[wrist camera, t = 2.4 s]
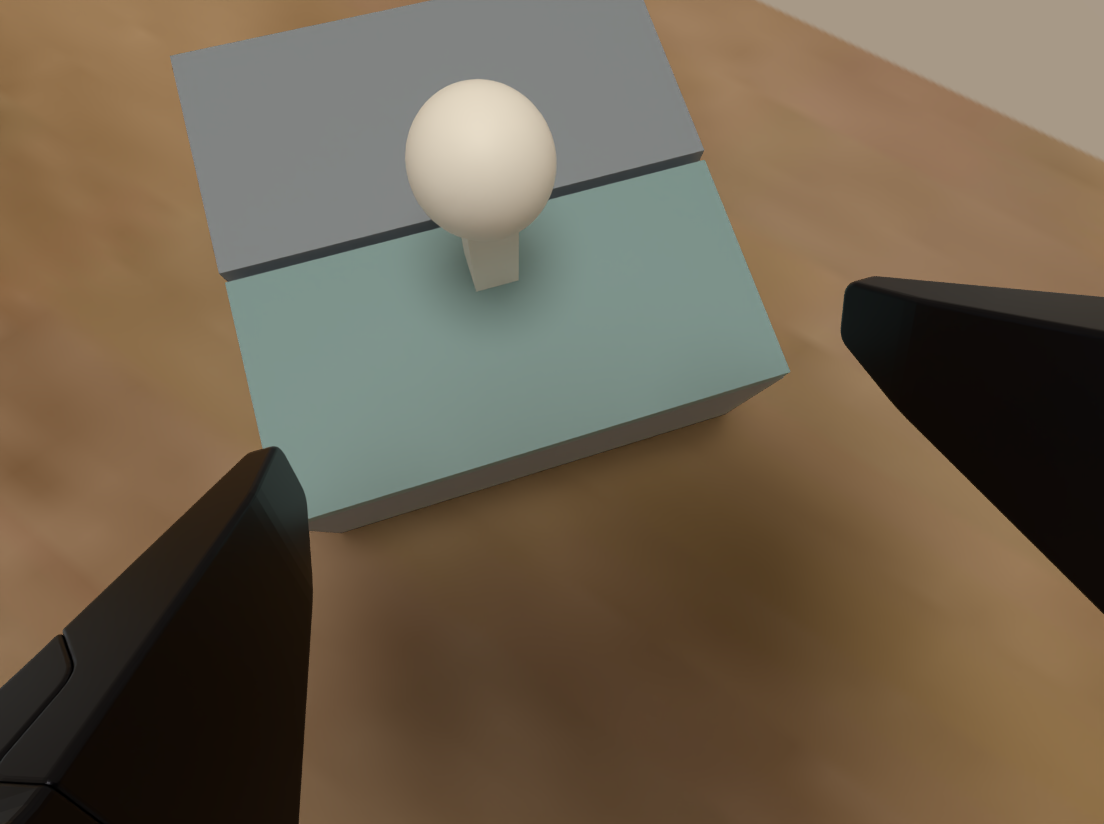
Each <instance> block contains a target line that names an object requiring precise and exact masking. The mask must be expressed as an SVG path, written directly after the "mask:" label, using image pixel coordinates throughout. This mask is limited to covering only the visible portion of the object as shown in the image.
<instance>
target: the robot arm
mask: <svg viewBox="0 0 1104 824" xmlns="http://www.w3.org/2000/svg"><path fill="white" fill-rule="evenodd" d="M841 336H842V340H843V342H844V344H845V345H846V347H847V348H848V349H849V350H850V352H851V353H852V354H853V355H854V357H855V358H856V359H857V360H858V361H859V363H860V364H861V365H862V366H863V368H864V369H865V370H866V371H867V373H868V374H869V375H870V376H871V378H872V379H873V380H874V381H875V382H876V384H877V385H878V386H879V387H880V389H881V390H882V391H883V392H884V394H885V395H886V396H887V397H888V399H889V400H890V401H891V402H892V403H893V404H894V406H895V407H896V408H897V409H898V410H899V411H900V412H901V413H902V414H903V415H904V416H905V417H906V418H907V419H908V420H909V421H910V422H911V423H912V424H913V425H914V426H915V427H916V428H917V429H918V430H919V431H920V432H921V433H922V434H923V435H924V436H925V437H926V438H927V439H928V440H929V441H930V442H931V443H932V444H933V445H934V446H935V447H936V448H937V449H938V450H939V451H940V452H941V453H942V454H943V455H944V456H945V457H946V458H947V459H948V460H949V461H950V462H951V463H952V464H953V465H954V466H955V467H956V468H957V469H958V470H959V471H960V472H961V473H962V474H963V475H964V476H965V477H966V478H967V479H968V480H969V481H970V482H971V483H972V484H973V485H974V486H975V487H976V488H977V489H978V490H979V491H980V492H981V493H982V494H983V495H984V496H985V497H986V498H987V499H988V500H989V501H990V502H991V503H992V504H993V505H994V506H995V507H996V508H997V509H998V510H999V511H1000V512H1001V513H1002V514H1003V515H1004V516H1005V517H1006V518H1007V519H1008V520H1009V521H1010V522H1011V523H1012V524H1013V525H1014V526H1015V527H1016V528H1017V529H1018V530H1019V531H1020V532H1021V533H1022V534H1023V535H1024V536H1025V537H1026V538H1027V539H1028V540H1029V541H1031V542H1032V543H1033V544H1034V545H1035V546H1036V547H1037V548H1038V549H1039V550H1040V551H1041V552H1042V553H1043V554H1044V555H1045V556H1046V557H1047V558H1048V559H1049V560H1050V561H1051V562H1052V563H1053V564H1054V565H1055V566H1056V567H1057V568H1058V569H1059V570H1060V571H1061V572H1062V573H1063V574H1064V575H1065V576H1066V577H1067V578H1068V579H1069V580H1070V581H1071V582H1072V583H1073V584H1074V585H1075V586H1076V587H1077V588H1078V589H1079V590H1080V591H1081V592H1082V593H1083V594H1084V595H1085V596H1086V597H1087V598H1088V599H1089V600H1090V601H1091V602H1092V603H1093V604H1094V605H1095V606H1096V607H1097V608H1098V609H1099V610H1100V611H1101V612H1102V613H1103V614H1104V297H1097V296H1086V295H1075V294H1064V293H1053V292H1042V291H1032V290H1021V289H1010V288H999V287H988V286H977V285H966V284H955V283H944V282H933V281H922V280H912V279H901V278H890V277H879V276H873V277H868V278H865V279H861V280H858V281H854V282H852V283H850V284H849V285H848V286H847V288H846V290H845V294H844V302H843V312H842V321H841ZM312 602H313V583H312V566H311V552H310V538H309V523H308V509H307V500H306V496H305V492H304V490H303V488H302V486H301V484H300V482H299V480H298V478H297V476H296V474H295V472H294V471H293V469H292V467H291V465H290V463H289V461H288V459H287V458H286V456H285V454H284V452H283V451H282V450H281V449H280V448H279V447H277V446H271V447H267V448H264V449H260V450H257V451H253V452H250V453H248V454H247V455H246V456H244V457H243V458H242V459H241V460H240V461H239V462H238V463H237V464H236V465H235V466H234V467H233V468H232V469H231V470H230V471H229V472H228V473H227V474H226V475H225V476H223V477H222V478H221V479H220V480H219V481H218V482H217V483H216V484H215V485H214V486H213V487H212V488H211V489H210V490H209V491H208V492H207V493H206V494H205V495H204V496H203V497H201V498H200V499H199V500H198V501H197V502H196V503H195V504H194V505H193V506H192V507H191V508H190V509H189V510H188V511H187V512H186V513H185V514H184V515H183V516H182V517H181V518H179V519H178V520H177V521H176V522H175V523H174V524H173V525H172V526H171V527H170V528H169V529H168V530H167V531H166V532H165V533H164V534H163V535H162V536H161V537H160V538H158V539H157V540H156V541H155V542H154V543H153V544H152V545H151V546H150V547H149V548H148V549H147V550H146V551H145V552H144V553H143V554H142V555H141V556H140V557H139V558H138V559H136V560H135V561H134V562H133V563H132V564H131V565H130V566H129V567H128V568H127V569H126V570H125V571H124V572H123V573H122V574H121V575H120V576H119V577H118V578H117V579H116V580H114V581H113V582H112V583H111V584H110V585H109V586H108V587H107V588H106V589H105V590H104V591H103V592H102V593H101V594H100V595H99V596H98V597H97V598H96V599H95V600H93V601H92V602H91V603H90V604H89V605H88V606H87V607H86V608H85V609H84V610H83V611H82V612H81V613H80V614H79V615H78V616H77V617H76V618H75V619H74V620H73V621H71V622H70V623H69V624H68V625H67V626H66V627H65V628H64V629H63V635H61V634H60V635H57V636H55V637H54V638H53V639H52V640H51V641H50V642H49V643H48V644H47V645H46V646H45V647H44V648H43V649H42V650H41V651H40V652H39V653H38V654H37V655H36V656H35V657H34V658H33V659H31V660H30V661H29V662H28V663H27V664H26V665H25V666H24V667H23V668H22V669H21V670H20V671H19V672H17V673H16V674H15V675H14V676H13V677H12V678H11V679H10V680H9V681H8V682H7V683H6V684H5V685H3V686H2V687H1V688H0V824H299V809H300V793H301V778H302V762H303V746H304V730H305V714H306V699H307V683H308V667H309V651H310V636H311V620H312Z"/></svg>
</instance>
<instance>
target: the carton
mask: <svg viewBox="0 0 1104 824" xmlns="http://www.w3.org/2000/svg"><path fill="white" fill-rule="evenodd" d="M170 58H171V63H172V67H173V72H174V76H175V80H176V85H177V89H178V94H179V98H180V103H181V107H182V111H183V116H184V120H185V125H186V129H187V134H188V138H189V142H190V147H191V151H192V156H193V160H194V165H195V169H196V173H197V178H198V182H199V187H200V191H201V196H202V200H203V205H204V209H205V213H206V218H207V222H208V227H209V231H210V236H211V240H212V244H213V249H214V253H215V258H216V262H217V267H218V271H219V274H220V275H221V276H222V277H223V278H224V279H226V280H227V281H228V282H230V281H234V280H238V279H242V278H245V277H249V276H253V275H257V274H261V273H265V272H269V271H273V270H277V269H281V268H284V267H288V266H292V265H296V264H300V263H304V262H308V261H312V260H316V259H320V258H323V257H327V256H331V255H335V254H339V253H343V252H347V251H351V250H355V249H359V248H362V247H366V246H370V245H374V244H378V243H382V242H386V241H390V240H394V239H398V238H402V237H405V236H409V235H413V234H417V233H421V232H425V231H429V230H433V229H437V228H441V227H440V226H439V225H437V224H436V223H435V222H434V221H433V220H432V219H431V218H430V217H429V216H428V215H427V214H426V213H425V212H424V210H423V209H422V208H421V206H420V205H419V204H418V202H417V200H416V198H415V196H414V194H413V192H412V189H411V187H410V184H409V181H408V176H407V172H406V164H405V151H406V142H407V137H408V133H409V130H410V127H411V125H412V122H413V120H414V118H415V117H416V115H417V113H418V112H419V110H420V109H421V107H422V106H423V105H424V103H425V102H426V101H427V100H428V99H429V98H430V97H432V96H433V95H434V94H435V93H437V92H438V91H439V90H441V89H443V88H444V87H446V86H448V85H451V84H453V83H456V82H460V81H464V80H471V79H485V80H492V81H496V82H499V83H503V84H505V85H507V86H510V87H511V88H513V89H515V90H517V91H518V92H520V93H521V94H522V95H524V96H525V97H526V98H528V99H529V100H530V101H531V102H532V103H533V104H534V106H535V107H536V108H537V109H538V111H539V112H540V113H541V114H542V116H543V118H544V119H545V121H546V123H547V125H548V127H549V129H550V132H551V134H552V137H553V141H554V145H555V150H556V162H557V164H556V177H555V182H554V187H553V190H552V193H551V195H550V197H549V199H548V200H550V199H554V198H558V197H561V196H565V195H569V194H573V193H577V192H581V191H585V190H589V189H593V188H597V187H600V186H604V185H608V184H612V183H616V182H620V181H624V180H628V179H632V178H636V177H640V176H643V175H647V174H651V173H655V172H659V171H663V170H667V169H671V168H675V167H679V166H682V165H686V164H690V163H694V162H698V161H699V160H700V158H701V156H702V154H703V152H704V148H703V146H702V143H701V141H700V139H699V136H698V134H697V131H696V129H695V126H694V124H693V121H692V119H691V116H690V114H689V111H688V109H687V106H686V104H685V102H684V99H683V97H682V94H681V92H680V89H679V87H678V84H677V82H676V79H675V77H674V74H673V72H672V69H671V67H670V65H669V62H668V60H667V57H666V55H665V52H664V50H663V47H662V45H661V42H660V40H659V37H658V35H657V32H656V30H655V28H654V25H653V23H652V20H651V18H650V15H649V13H648V10H647V8H646V5H645V3H644V0H431V1H427V2H422V3H417V4H412V5H408V6H403V7H398V8H394V9H389V10H384V11H379V12H375V13H370V14H365V15H361V16H356V17H351V18H346V19H342V20H337V21H332V22H328V23H323V24H318V25H313V26H309V27H304V28H299V29H295V30H290V31H285V32H280V33H276V34H271V35H266V36H262V37H257V38H252V39H247V40H243V41H238V42H233V43H229V44H224V45H219V46H214V47H210V48H205V49H200V50H196V51H191V52H186V53H181V54H177V55H172V56H170ZM782 378H783V377H782ZM782 378H779V379H775V380H772V381H769V382H766V383H762V384H759V385H756V386H753V387H749V388H746V389H743V390H739V391H736V392H733V393H730V394H726V395H723V396H720V397H717V398H713V399H710V400H707V401H703V402H700V403H697V404H694V405H690V406H687V407H684V408H681V409H677V410H674V411H671V412H667V413H664V414H661V415H658V416H654V417H651V418H648V419H645V420H641V421H638V422H635V423H631V424H628V425H625V426H622V427H618V428H615V429H612V430H609V431H605V432H602V433H599V434H595V435H592V436H589V437H586V438H582V439H579V440H576V441H572V442H569V443H566V444H563V445H559V446H556V447H553V448H550V449H546V450H543V451H540V452H536V453H533V454H530V455H527V456H523V457H520V458H517V459H514V460H510V461H507V462H504V463H500V464H497V465H494V466H491V467H487V468H484V469H481V470H478V471H474V472H471V473H468V474H464V475H461V476H458V477H455V478H451V479H448V480H445V481H442V482H438V483H435V484H432V485H428V486H425V487H422V488H419V489H415V490H412V491H409V492H406V493H402V494H399V495H396V496H392V497H389V498H386V499H383V500H379V501H376V502H373V503H369V504H366V505H363V506H360V507H356V508H353V509H350V510H347V511H343V512H340V513H337V514H333V515H330V516H327V517H324V518H320V519H317V520H314V521H311V522H308V523H309V531H319V532H333V533H342V532H346V531H349V530H352V529H355V528H359V527H362V526H365V525H368V524H371V523H375V522H378V521H381V520H384V519H388V518H391V517H394V516H397V515H401V514H404V513H407V512H410V511H414V510H417V509H420V508H423V507H426V506H430V505H433V504H436V503H439V502H443V501H446V500H449V499H452V498H456V497H459V496H462V495H465V494H468V493H472V492H475V491H478V490H481V489H485V488H488V487H491V486H494V485H498V484H501V483H504V482H507V481H510V480H514V479H517V478H520V477H523V476H527V475H530V474H533V473H536V472H540V471H543V470H546V469H549V468H553V467H556V466H559V465H562V464H565V463H569V462H572V461H575V460H578V459H582V458H585V457H588V456H591V455H595V454H598V453H601V452H604V451H607V450H611V449H614V448H617V447H620V446H624V445H627V444H630V443H633V442H637V441H640V440H643V439H646V438H650V437H653V436H656V435H659V434H662V433H666V432H669V431H672V430H675V429H679V428H682V427H685V426H688V425H692V424H695V423H698V422H701V421H704V420H708V419H711V418H714V417H717V416H721V415H724V414H726V413H728V412H729V411H731V410H732V409H734V408H736V407H737V406H739V405H740V404H742V403H744V402H745V401H747V400H748V399H750V398H751V397H753V396H755V395H756V394H758V393H759V392H761V391H763V390H764V389H766V388H767V387H769V386H771V385H772V384H774V383H775V382H777V381H778V380H780V379H782Z"/></svg>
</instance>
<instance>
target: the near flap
mask: <svg viewBox="0 0 1104 824" xmlns="http://www.w3.org/2000/svg"><path fill="white" fill-rule="evenodd" d="M405 164H406V172H407V176H408V181H409V184H410V187H411V189H412V192H413V194H414V196H415V198H416V200H417V202H418V204H419V205H420V206H421V208H422V209H423V210H424V212H425V213H426V214H427V215H428V216H429V217H430V218H431V219H432V220H433V221H434V222H435V223H436V224H437V225H439V226H440V227H441V228H437V229H433V230H429V231H425V232H421V233H417V234H413V235H409V236H405V237H402V238H398V239H394V240H390V241H386V242H382V243H378V244H374V245H370V246H366V247H362V248H359V249H355V250H351V251H347V252H343V253H339V254H335V255H331V256H327V257H323V258H320V259H316V260H312V261H308V262H304V263H300V264H296V265H292V266H288V267H284V268H281V269H277V270H273V271H269V272H265V273H261V274H257V275H253V276H249V277H245V278H242V279H238V280H234V281H230V282H226V283H225V284H226V289H227V293H228V297H229V302H230V306H231V311H232V315H233V319H234V324H235V328H236V333H237V337H238V341H239V346H240V350H241V355H242V359H243V363H244V368H245V372H246V377H247V381H248V386H249V390H250V394H251V399H252V403H253V408H254V412H255V416H256V421H257V425H258V430H259V434H260V438H261V443H262V447H263V449H264V448H267V447H271V446H277V447H279V448H280V449H281V450H282V451H283V452H284V454H285V456H286V458H287V459H288V461H289V463H290V465H291V467H292V469H293V471H294V472H295V474H296V476H297V478H298V480H299V482H300V484H301V486H302V488H303V490H304V492H305V496H306V500H307V509H308V522H311V521H314V520H317V519H320V518H324V517H327V516H330V515H333V514H337V513H340V512H343V511H347V510H350V509H353V508H356V507H360V506H363V505H366V504H369V503H373V502H376V501H379V500H383V499H386V498H389V497H392V496H396V495H399V494H402V493H406V492H409V491H412V490H415V489H419V488H422V487H425V486H428V485H432V484H435V483H438V482H442V481H445V480H448V479H451V478H455V477H458V476H461V475H464V474H468V473H471V472H474V471H478V470H481V469H484V468H487V467H491V466H494V465H497V464H500V463H504V462H507V461H510V460H514V459H517V458H520V457H523V456H527V455H530V454H533V453H536V452H540V451H543V450H546V449H550V448H553V447H556V446H559V445H563V444H566V443H569V442H572V441H576V440H579V439H582V438H586V437H589V436H592V435H595V434H599V433H602V432H605V431H609V430H612V429H615V428H618V427H622V426H625V425H628V424H631V423H635V422H638V421H641V420H645V419H648V418H651V417H654V416H658V415H661V414H664V413H667V412H671V411H674V410H677V409H681V408H684V407H687V406H690V405H694V404H697V403H700V402H703V401H707V400H710V399H713V398H717V397H720V396H723V395H726V394H730V393H733V392H736V391H739V390H743V389H746V388H749V387H753V386H756V385H759V384H762V383H766V382H769V381H772V380H775V379H779V378H782V377H783V376H785V375H786V374H788V373H789V372H790V370H789V367H788V365H787V362H786V360H785V357H784V355H783V352H782V350H781V348H780V345H779V343H778V340H777V338H776V335H775V333H774V330H773V328H772V325H771V323H770V320H769V318H768V315H767V313H766V310H765V308H764V305H763V303H762V301H761V298H760V296H759V293H758V291H757V288H756V286H755V283H754V281H753V278H752V276H751V273H750V271H749V268H748V266H747V263H746V261H745V258H744V256H743V254H742V251H741V249H740V246H739V244H738V241H737V239H736V236H735V234H734V231H733V229H732V226H731V224H730V221H729V219H728V216H727V214H726V211H725V209H724V207H723V204H722V202H721V199H720V197H719V194H718V192H717V189H716V187H715V184H714V182H713V179H712V177H711V174H710V172H709V169H708V167H707V164H706V162H705V160H702V161H698V162H694V163H690V164H686V165H682V166H679V167H675V168H671V169H667V170H663V171H659V172H655V173H651V174H647V175H643V176H640V177H636V178H632V179H628V180H624V181H620V182H616V183H612V184H608V185H604V186H600V187H597V188H593V189H589V190H585V191H581V192H577V193H573V194H569V195H565V196H561V197H558V198H554V199H550V200H548V199H549V197H550V195H551V193H552V190H553V187H554V182H555V177H556V164H557V162H556V150H555V145H554V141H553V137H552V134H551V132H550V129H549V127H548V125H547V123H546V121H545V119H544V118H543V116H542V114H541V113H540V112H539V111H538V109H537V108H536V107H535V106H534V104H533V103H532V102H531V101H530V100H529V99H528V98H526V97H525V96H524V95H522V94H521V93H520V92H518V91H517V90H515V89H513V88H511V87H510V86H507V85H505V84H503V83H499V82H496V81H492V80H485V79H471V80H464V81H460V82H456V83H453V84H451V85H448V86H446V87H444V88H443V89H441V90H439V91H438V92H437V93H435V94H434V95H433V96H432V97H430V98H429V99H428V100H427V101H426V102H425V103H424V105H423V106H422V107H421V109H420V110H419V112H418V113H417V115H416V117H415V118H414V120H413V122H412V125H411V127H410V130H409V133H408V137H407V142H406V151H405Z"/></svg>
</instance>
